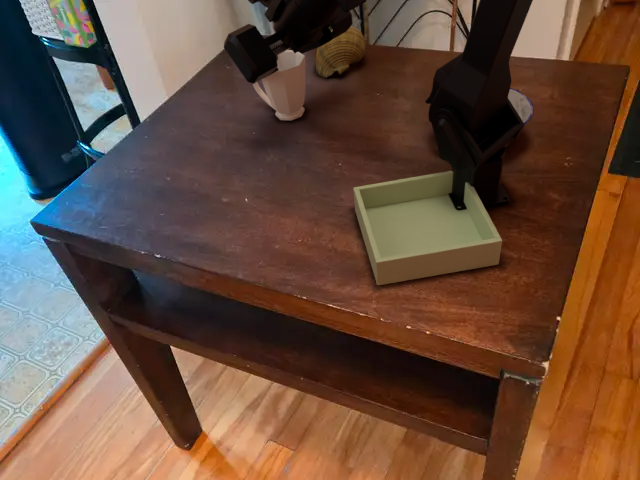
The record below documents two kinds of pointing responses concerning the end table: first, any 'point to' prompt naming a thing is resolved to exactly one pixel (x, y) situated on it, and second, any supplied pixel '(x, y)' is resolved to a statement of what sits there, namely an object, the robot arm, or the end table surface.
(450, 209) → the tray
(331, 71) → the seashell
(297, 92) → the cup
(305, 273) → the end table surface
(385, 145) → the end table surface
